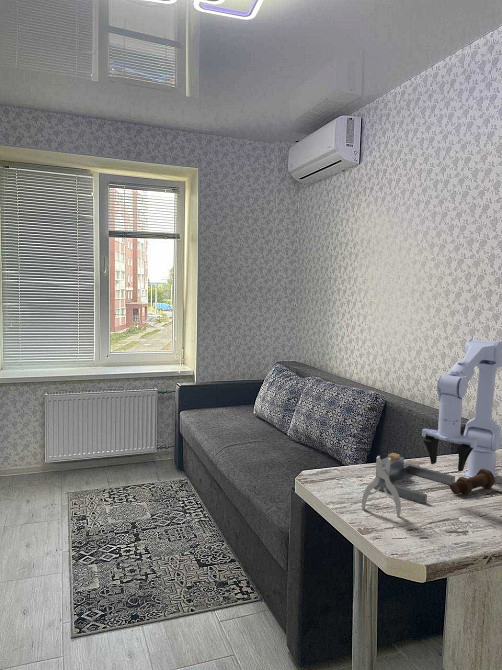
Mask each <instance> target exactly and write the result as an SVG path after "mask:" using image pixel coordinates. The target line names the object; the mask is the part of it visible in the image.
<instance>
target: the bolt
mask: <svg viewBox="0 0 502 670" xmlns="http://www.w3.org/2000/svg"><path fill="white" fill-rule="evenodd" d="M495 478H496V477H495ZM495 478H494V475H493V474H492V472H490V471H489V470H486V469H480V470H479V472H478V473H477V475H476V476H474V477H466V476H460V477H458V478H457V479H456V480H455V483H451V485H449V490H451V491H450V492H452V493H453V494H454V495H458V494H459V495H460V494H462V495H465V496H468V495H469V494H470V493H471V492H472V491H473V490H474V489H477V488H480V487H481V488H484V489H487V490H489V489H492V487H493V486H494V485H495V483H496V479H495Z"/></svg>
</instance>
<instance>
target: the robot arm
mask: <svg viewBox="0 0 502 670" xmlns="http://www.w3.org/2000/svg"><path fill="white" fill-rule="evenodd" d="M464 354H465V355H464V357H463V359H462V360H459V361H456V363H455V364H454V365H453V366H452V367H451V369H449V371H448V372H447V373H446V374H443V375H441V376H439V377H438V380H437V383H436V392H437V393H436V394H437V395H438V396H437V401H438V402H439V407H438V424H437V425H438V428H437V429H430V428H423V429H422V430H421V437H424V438H423V443H424V445H425V447H426V449H427V452H428V456H429V459H430V460H429V461H430V464H431V465H435V464H436V463H437V461H438V447H439V443H440V442H439V441H440V440H441V441H445V442H449V443H454V444H458V445H460V446H458V447H457V453H458V462H457V463H458V465H457V471H458V472H460V473H461V472H463V471H464V468H465V466H466V463H467V470H466V471H465V472H464V473H462V477H465V478H470V477H474V476H476V475H477V473H478V472H479V470H480V469H486V470H489V471H490V472H492V474H493V475H494V478H497V477H498V476H499V473H498V472H496V464H497V453H496V451H498V450H499V449H500V446H501V442H502V435H501V426H500V425H499V424H498V423H497V422H496V421H494V419H492V417H493V407H494V396H495V385H496V384H495V383H496V374H497V369H499V368H501V367H502V341H500V340H497V341H496V340H486V339H485V340H484V339H475V338H474V339H473V338H469V339H468V340H467V341H466V342H465V346H464ZM476 366H477V369H478V377H477V379H478V380H477V388H476V392H477V393H476V399H475V400H476V401H475V402H476V403H475V413H474V418H471V419H469V420H468V421H467V422H466V424H465V428H464V432H463V434H461V429H462V428H461V426H462V410H463V409H462V408H463V399H464V397H465V396H466V393H467V390H468V388H469V383H470V381H471V380H472V378H473V377H474V375H475V373H476V372H475V368H476Z"/></svg>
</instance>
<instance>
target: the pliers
mask: <svg viewBox="0 0 502 670" xmlns="http://www.w3.org/2000/svg"><path fill="white" fill-rule="evenodd" d="M381 460H382V459H381V456H380V455H377V457H376V462H375V471H376V470H377V475H376V474H375V477H374V479H373V480H372V481H371V482H370V483H368V485H367V486H366V488H365V489H364V492H363V494H362V499H361V510H362V511H365V510H366V506H367V501H368V499H369V496H371V495H372V496H373V495H374V494H376V493H378V491H380V490H379V489H380V487H379V488H378V489H375V491H372V490H374V487H375V486H377V485H378V483H379V480H380V478H382V479H384V480H385V483H386V487H387V488H388V489H389V491H390V492H391V494H390V493H388V492H387V491H386V489H385V488H384V491H385V492H384V493H385V494H386V496H388V497H389V499H391V500H393V501H394V505H395V509H396V510H395V511H396V517H397V518H400V517H401V511H402V510H401V509H402V507H401V506H402V505H401V499H400V498H401V497H399V495H398V492H397V490H396V488H395V487H394V486H393V485H392V484H393V482H392V483H391V481H390V480H389V475H388V474H389V471H390V464H391V458H388V460H387V463H386V465H385V468H382V464H381Z"/></svg>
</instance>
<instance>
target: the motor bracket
mask: <svg viewBox="0 0 502 670" xmlns="http://www.w3.org/2000/svg"><path fill="white" fill-rule="evenodd" d="M388 458H391V464H390V471H389V474H388V475H389V480H390V481H391V483H392V485H393V486H394V487H395V488H396V490H397V492H398V495H399V498H401V499H402V498H403V499H406V500H409V501H413V502H416V503H419V504H422V505H425V504H427V499H428V494H427V493H424V492H421V491H417V490H414V489H411V488H407V487H405V486H401V485H398V484H394V482H395V481H397V480H399V479H401V478H403V477H405V476H407V475H408V474H410V475H413V476H417V477H421V478H424V479H428V480H431V481H434V482H435V481H436V482H438V483H442V484H446V485H449V486H450V485H451V483H455V482H456V476H455V475H452V474H448V473H445V472H440V471H437V470H433V469H430V468H425V467H422V466H419V465H414V464H411V463H406V464H405V457H403V456H401V455H400V454H399V453H396V452H391V453H388V454H387V456H386V457H385V458H382V459H381V464H382V468H385V465H386V463H387V460H388ZM376 475H377V470H376V469H375V476H376ZM379 487H380V489H379V490H378V491H381V492H384V493H385V491H384V488H385V489H386V491H387V492H388V493H389V494H390V495H392V494H391V492H390V491H389V489H388V488H387V487H386V483H385V480H384V479H382V478H380V480H379V483H378V485H377V486H375V487H374V488H373V490H374V489H375V490H377V489H378V488H379Z"/></svg>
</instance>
